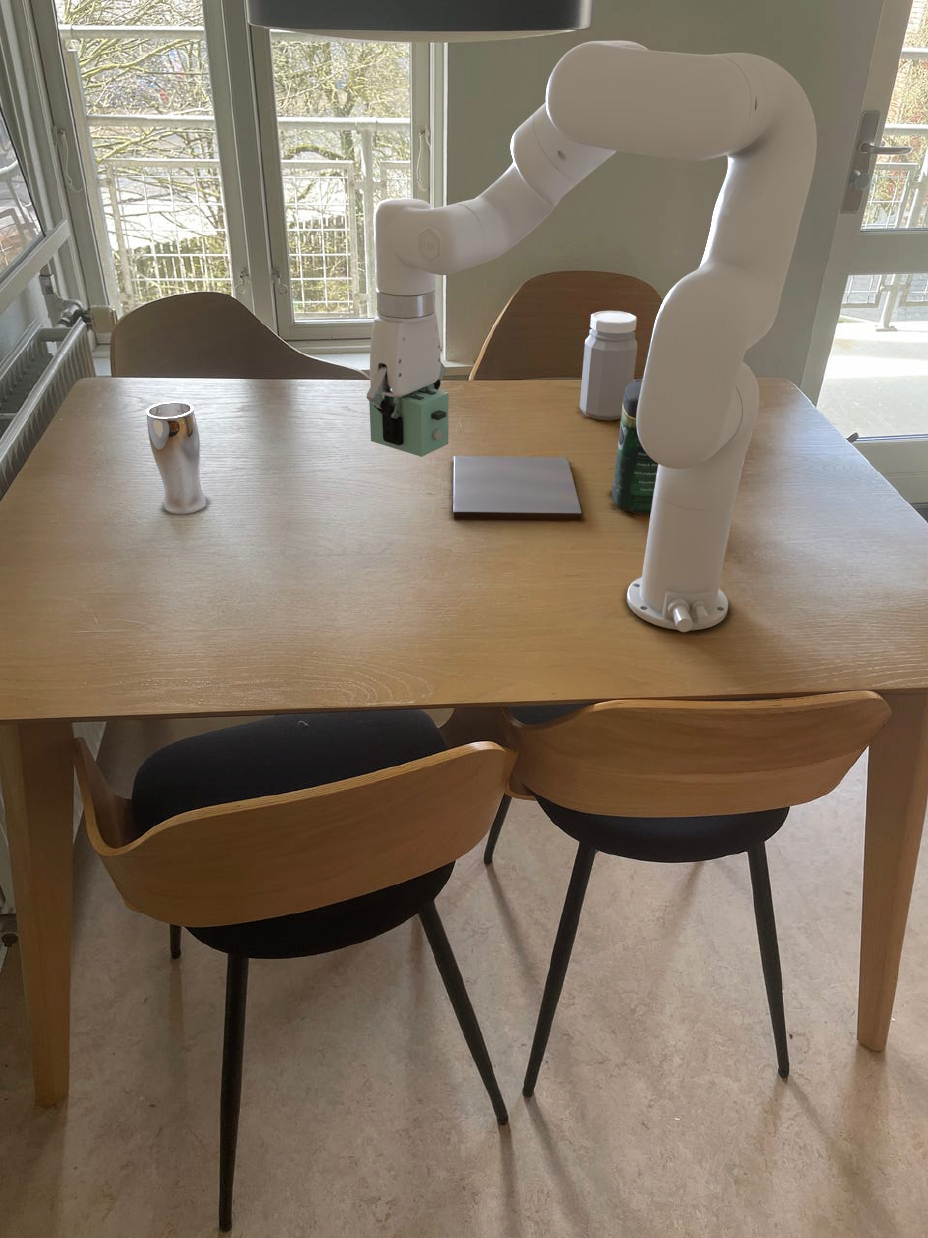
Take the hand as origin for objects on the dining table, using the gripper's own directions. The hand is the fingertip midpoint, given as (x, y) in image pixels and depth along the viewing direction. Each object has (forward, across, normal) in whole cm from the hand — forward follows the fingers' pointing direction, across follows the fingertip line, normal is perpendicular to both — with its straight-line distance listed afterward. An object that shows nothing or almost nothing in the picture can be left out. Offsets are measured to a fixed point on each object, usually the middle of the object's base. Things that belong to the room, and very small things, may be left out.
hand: (408, 434), depth 129 cm
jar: (+14, -58, 0) cm, 59 cm away
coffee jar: (+14, -27, +24) cm, 38 cm away
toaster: (+1, 0, +1) cm, 1 cm away
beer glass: (+13, +17, -30) cm, 37 cm away
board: (+13, -18, +6) cm, 24 cm away
